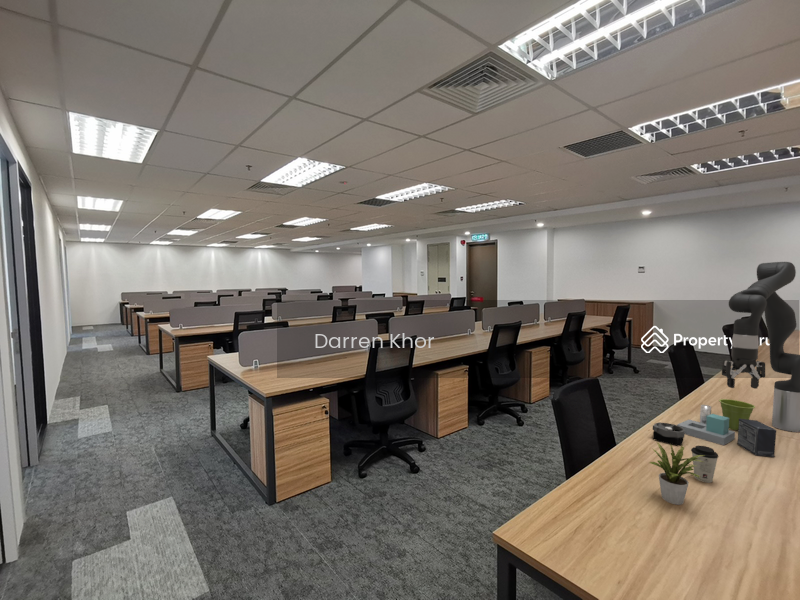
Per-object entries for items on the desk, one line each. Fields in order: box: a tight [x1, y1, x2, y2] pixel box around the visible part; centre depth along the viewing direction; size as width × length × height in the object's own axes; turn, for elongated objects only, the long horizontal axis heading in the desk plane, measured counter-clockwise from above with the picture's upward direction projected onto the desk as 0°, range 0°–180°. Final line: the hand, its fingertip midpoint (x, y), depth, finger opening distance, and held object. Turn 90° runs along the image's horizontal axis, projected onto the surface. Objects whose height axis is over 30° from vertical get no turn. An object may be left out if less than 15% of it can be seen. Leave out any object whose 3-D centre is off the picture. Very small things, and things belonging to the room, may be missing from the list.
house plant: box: [648, 441, 705, 506], centre depth 108 cm, size 14×14×16 cm
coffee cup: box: [690, 445, 719, 484], centre depth 122 cm, size 7×7×10 cm
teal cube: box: [706, 413, 730, 435], centre depth 154 cm, size 6×6×6 cm
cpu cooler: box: [652, 422, 686, 447], centre depth 152 cm, size 10×6×10 cm
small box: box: [736, 419, 777, 458], centre depth 143 cm, size 11×6×10 cm, turn 168°
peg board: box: [676, 419, 736, 446], centre depth 157 cm, size 12×16×5 cm
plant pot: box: [718, 398, 756, 431], centre depth 165 cm, size 12×12×11 cm
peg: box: [699, 404, 712, 424], centre depth 165 cm, size 4×4×10 cm
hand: (742, 387), depth 146 cm, fingers open, 8 cm apart
